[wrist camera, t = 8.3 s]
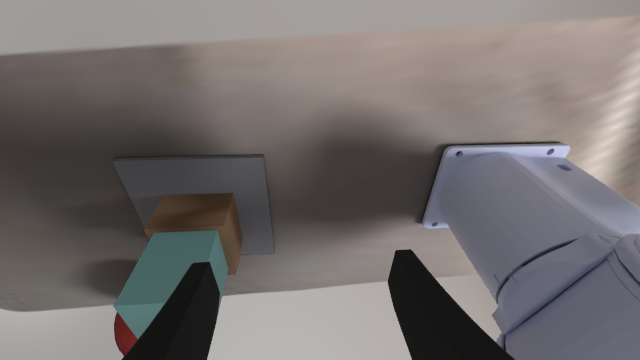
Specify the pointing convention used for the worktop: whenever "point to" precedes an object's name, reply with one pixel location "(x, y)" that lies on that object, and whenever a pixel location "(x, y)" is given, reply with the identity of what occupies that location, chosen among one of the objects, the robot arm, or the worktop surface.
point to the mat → (204, 189)
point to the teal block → (167, 273)
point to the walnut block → (201, 220)
